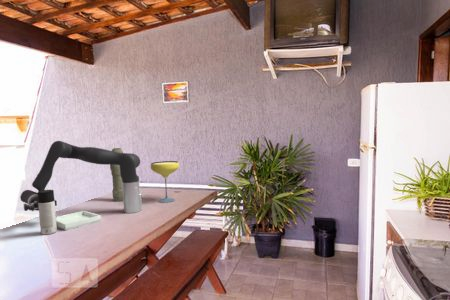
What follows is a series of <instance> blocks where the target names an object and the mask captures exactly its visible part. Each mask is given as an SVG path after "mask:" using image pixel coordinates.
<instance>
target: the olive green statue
mask: <svg viewBox="0 0 450 300" xmlns="http://www.w3.org/2000/svg"><path fill="white" fill-rule="evenodd" d="M111 151H114V152H118V153H124V151H123V149H122V148H121V147H120V148H118V147H115V148H111ZM109 168H110V172H111V173H110V174H111V177H112V192H111V193H112V201H113V202H115V203H116V202H117V203H118V202H119V203H120V202H124V201H123V184H122V178H121V175H120V165H114V164H110V165H109Z"/></svg>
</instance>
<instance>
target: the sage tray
mask: <svg viewBox="0 0 450 300" xmlns="http://www.w3.org/2000/svg"><path fill="white" fill-rule="evenodd" d="M100 222H102V215H101V214H97V213H93V212H90V211H87V210H80V211H75V212H72V213H68V214H64V215H58V216H56V225H57V228H58V227H59V229H60V228H61V230H63V229H64V230H63V231H65V230H67V231H69V230H73V228H74V229H77V227H78V228H81V227H85V226H88V225H92V224H96V223H100Z"/></svg>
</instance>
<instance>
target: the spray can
mask: <svg viewBox="0 0 450 300" xmlns="http://www.w3.org/2000/svg"><path fill="white" fill-rule="evenodd" d="M37 193H38V205H39V210H38V213H39V226H40V227H39V228H40V234H41V235H42V236H44V235H46V236H47V235H52V234H55V233H57V231H58V230H57V229H58V227H57V225H56V217H57V215H56V206H55V200H56V199H55V190H54V189H45V190H43V191H39V192H38V191H37Z"/></svg>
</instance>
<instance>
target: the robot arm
mask: <svg viewBox="0 0 450 300" xmlns="http://www.w3.org/2000/svg"><path fill="white" fill-rule="evenodd" d="M59 158H61V159H75V160H80V161H82V162H85V163H89V164H94V165H95V164H96V165H107V166H108V165H109V166H110V164H114V165H120V175H121V178H122V184H123V201H122V202H123V212H124V213H126V214H133V213H138V212H140V211H142V210H143V203H142V201H143V199H142V193H141V191H140V190H141V189H140V178H139V176H138V175H137V168H138V167H139V166H140V164H141V159H140V156H138V155H137V154H135V153H128V152H126V153H125V152H123V153H118V152H114V151H112V150H109V149H104V148H101V147H95V146H82V147H81V146H77V145H73V144H70V143H68V142H65V141H62V140H55V141H54V142H53V143H52V144H50V147H49V150H48V152H47V153H46V156H45V159H44V161H43V163H42V165H41V169H40V170H39V171H38V173H37V175H36V177H35V178H34V180H33V181H32V183H31V186H32V188H34V189H36V190H37V192H36V191H33V190H30V189H26V190H23V191H22V192H21V194H20V196H19V197H20V201H21V202H23V210H24V211H25V212H27V211H31V212H34V211H38V212H39V205H38V192H39V191H43V190H46V187H47V186H48V184H49V182H50V181H51V178H52V176H53V172H54V168H55V164H56V163H57V161H58V160H59ZM54 200H55V207H57V206H58V204H57V202H58V201H57V200H56V199H54Z"/></svg>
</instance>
